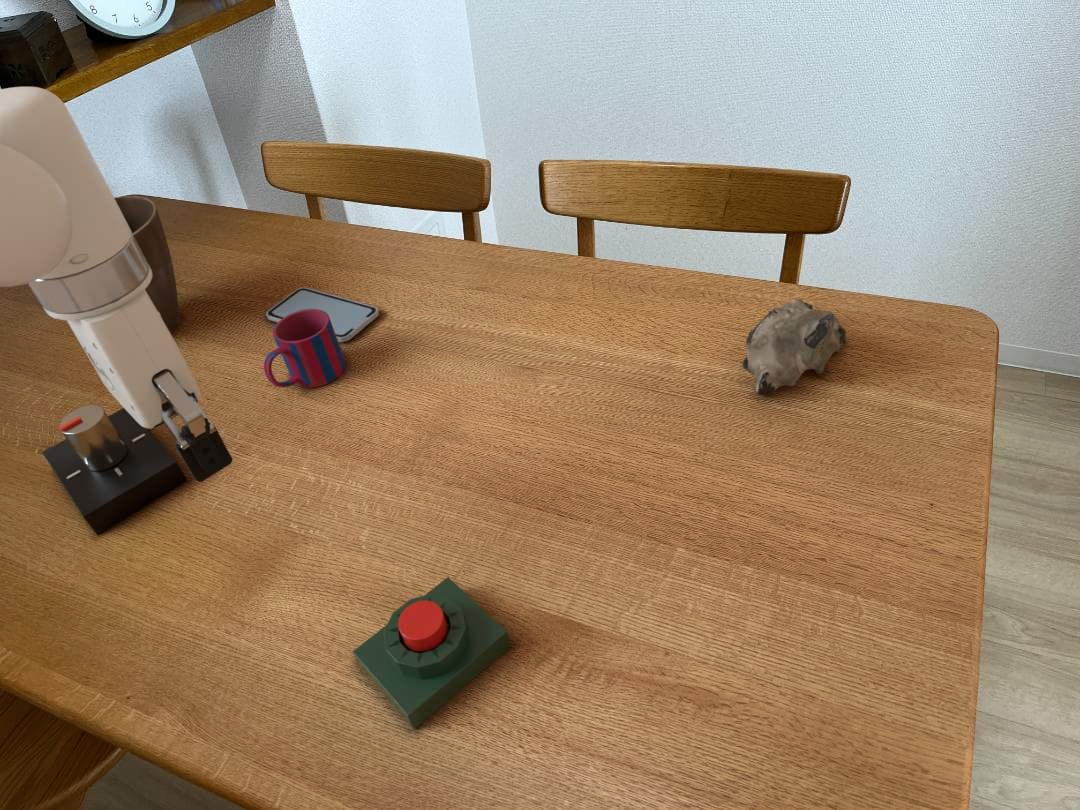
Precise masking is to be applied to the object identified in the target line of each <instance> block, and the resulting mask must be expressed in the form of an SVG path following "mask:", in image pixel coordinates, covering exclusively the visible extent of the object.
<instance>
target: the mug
mask: <svg viewBox="0 0 1080 810" xmlns="http://www.w3.org/2000/svg"><path fill="white" fill-rule="evenodd" d="M272 336H273V339H274V342H275V343H276V345H277V348H275V349H273V350H272V351H270V352H269V353H268V354H267V355H266V357H265V359H264V362H263V370H264V374H265V376H266V379H267V380H268V381H269V382H270V383H271V384H272V385H274V386H275V387H279V388H289V387H292V386H295V385H297V386H299V387H301V388H318V387H322V386H325V385H328V384H330V383H332V382H333V381H335V380H337V378H339V377H340V376H341V375H342V374H343V373H344V371H345V368H346V365H347V363H346V358H345V355H344V354H343V350H342V348H341V345H340V342H338V339H337V337H336V334H335V331H334V329H333V326H332V323H331V320H330V318H329V315H328V314H327V313H326V312H324V311H322V310H318V309H305V310H300V311H297V312H294V313H291V314H289V315H287V316H286V317H284V318H283V319H281V320H280V321H279V322H276V324H275V325H274V327H273V330H272ZM279 355H281V357H282V359H283V361H284V364H285V366H286V368H287V371H288V373H289V375H290V378H289V379H287V380H285V381H278V380H277V379H276V378H275V376H274V373H273V370H272V364H273V361H274V359H275V358H277V356H279Z"/></svg>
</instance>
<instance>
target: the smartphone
mask: <svg viewBox="0 0 1080 810" xmlns="http://www.w3.org/2000/svg"><path fill="white" fill-rule="evenodd" d="M305 309H318V310H322V311H324V312H326V313H327V314H328V315H329V318H330V320H331V323H332V326H333V329H334V331H335V334H336V337H337V339H338V342H339V343H344V342H345V343H346V342H348V341H350V340H351V339H353V338H355V336H356V335H358V333H360V332H361V331H362V330H363V329H365V327H367V326H368V325H369V324H371V323H372V322H373V321H374V320H375V319H376V318H377V317H378V316H379V315H380V312H379V309H378V308H377V306H373V305H369V304H366V303H362V302H360V301H356V300H353V299H348V298H346V297H340V296H338V295H334V294H330V293H327V292H323V291H320V290H316V289H312V288H309V287H299V288H298V289H295V290H294V291H293V292H291V293H290V294H288V295H287V296H286V297H284V298H283V299H281V301H279V302H278V303H277V304H275V305H273V306H272V307H271V308H270V309H268V310H267V311H266V318H267V319H268V321H271V322H275V323H278V322H279V321H280V320H281V319H283V318H284V317H286V316H287V315H289V314H291V313H294V312H297V311H300V310H305Z"/></svg>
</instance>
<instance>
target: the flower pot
mask: <svg viewBox="0 0 1080 810" xmlns="http://www.w3.org/2000/svg"><path fill="white" fill-rule="evenodd" d="M113 197H114V196H113ZM114 199H115V201H116V203H117V205H118V206H119V208H120V210H121V212H122V214H123V216H124V218H125V220H126V222H127V224H128V226H129V228H130V230H131V232H132V234H133V236H134V238H135V240H136V241H137V243H138V245H139V247H140V249H141V251H142V253H143V255H144V257H145V259H146V261H147V263H148V264H149V266H150V268H151V270H152V279H151V282H150V283H149V285H148V286H147V288H146V289H145V290H146V292H147V294H148V295H149V297H150V299H151V301H152V302H153V304H154V306H155V307H156V309H157V311H158V312H159V313H160V315H161V318H162V320H163V321H164V323H165V325H166V327H167V328H168V330H169V332H170V333H171V332H172V331H174V329H175V328H176V327H177V325H178V324H179V322H180V309H179V298H178V289H177V281H176V276H175V271H174V266H173V260H172V255H171V251H170V248H169V244H168V240H167V236H166V232H165V229H164V227H163V224H162V221H161V217H160V215H159V211H158V209H157V206H156V204H155V202H154V201H153V200H151V199H150V198H147V197H143V196H138V195H123V196H115V197H114Z"/></svg>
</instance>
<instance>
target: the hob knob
mask: <svg viewBox="0 0 1080 810" xmlns="http://www.w3.org/2000/svg"><path fill="white" fill-rule="evenodd" d="M108 416H109V415H108V414H107V413H106V411H105V410H104V408H103V407H102V406H100V405H97V404H89V405H84V406H81V407H79V408H76V409H74V410H73V411H71V412H70V413H68V414H67V415H66V416H65V417H64V418H62V420H61V422H60V424H59V427H58V429H59V430H60V432H61V434H62V435H63V436H64V438H65V439H67V440H68V442H69V443H70V444H71V446H72V447H73V449H74V450H75V451H76V453H77V454H78V455H79V457H80V458H81V460H82V461H83V462H84V464H85V465H86V467H87V468H88V469H90V470H93V471H101V470H105V469H108V468H111V467H113V466H114V465H116V464H118V463H119V462H120V461H121V460H122V459H123V458H124V457H125V456H126V454H127V451H128V447H127V445H126V443H125V442H124V440H123V439H122V437H121V436H120V434H119V433H118V431H117V430H116V428H115V426H114V425H113V423H112V422H111V420H110V419H109V417H108Z"/></svg>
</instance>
